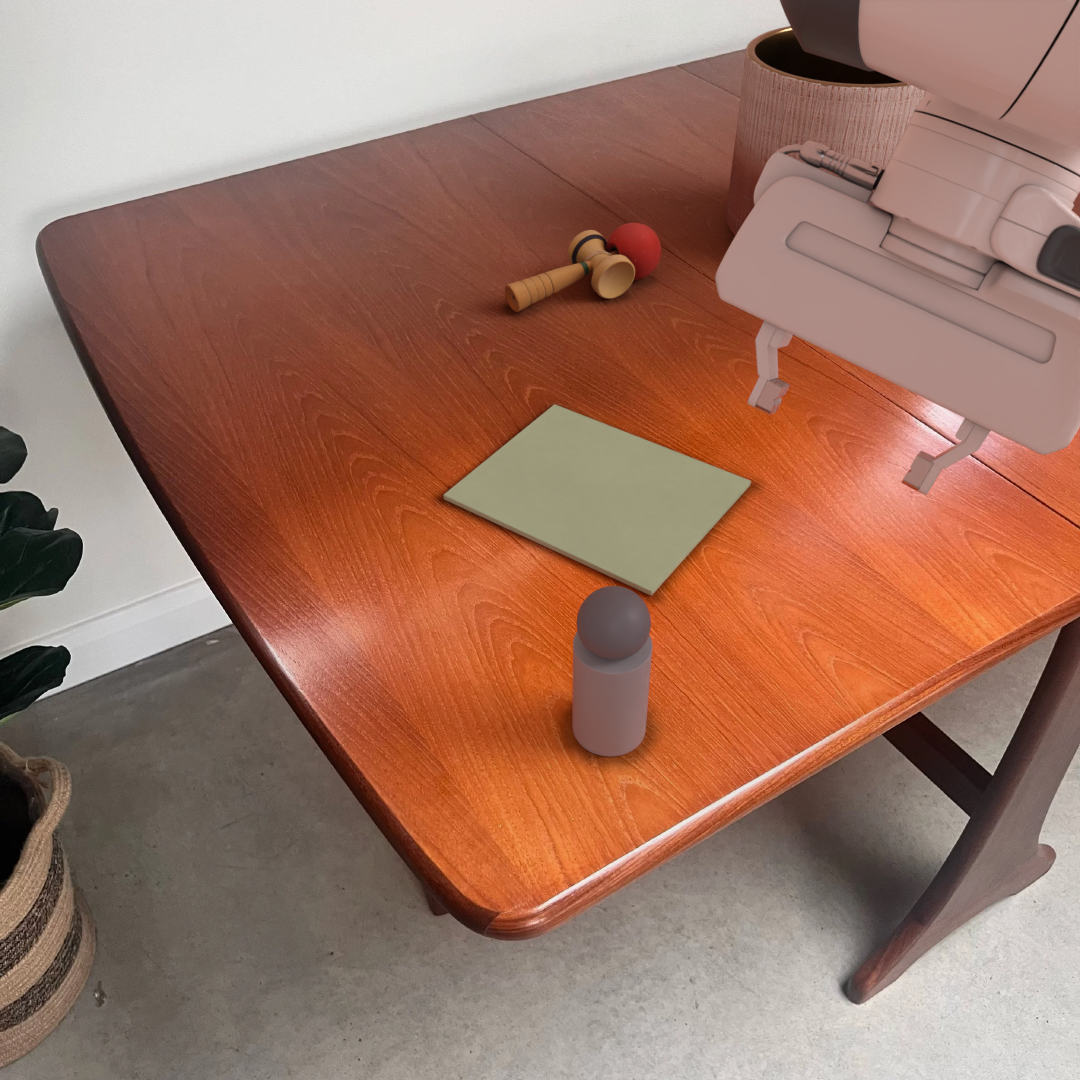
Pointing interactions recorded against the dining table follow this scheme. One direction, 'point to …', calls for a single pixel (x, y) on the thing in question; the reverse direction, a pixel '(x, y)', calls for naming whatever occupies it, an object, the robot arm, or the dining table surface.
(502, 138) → the dining table surface
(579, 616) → the ball
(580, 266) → the kendama
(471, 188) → the dining table surface
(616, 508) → the mat
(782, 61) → the planter
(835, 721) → the dining table surface
